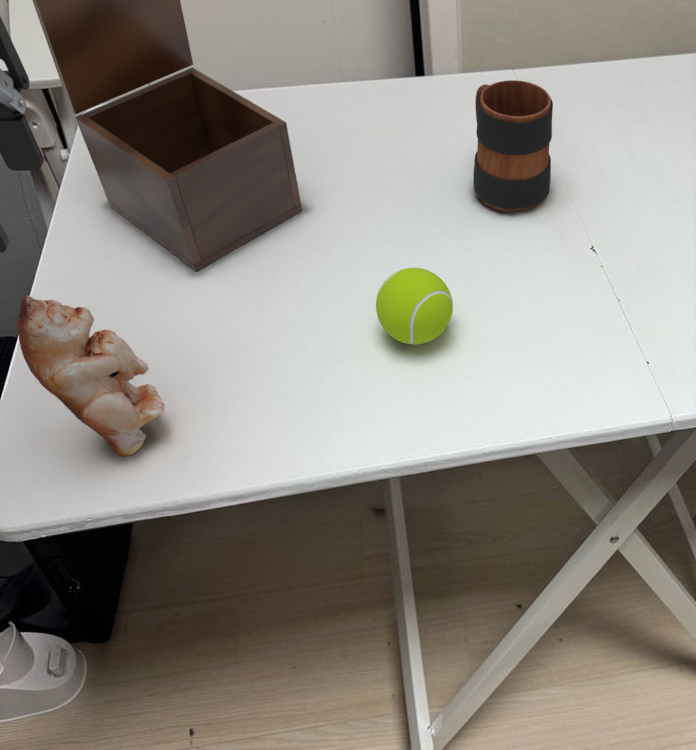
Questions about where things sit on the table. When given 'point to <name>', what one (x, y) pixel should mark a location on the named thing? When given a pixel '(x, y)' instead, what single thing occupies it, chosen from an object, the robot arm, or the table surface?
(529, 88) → the mug
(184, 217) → the chest
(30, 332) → the figurine
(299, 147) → the table surface
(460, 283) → the table surface
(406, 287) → the tennis ball
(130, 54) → the lid
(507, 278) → the table surface
